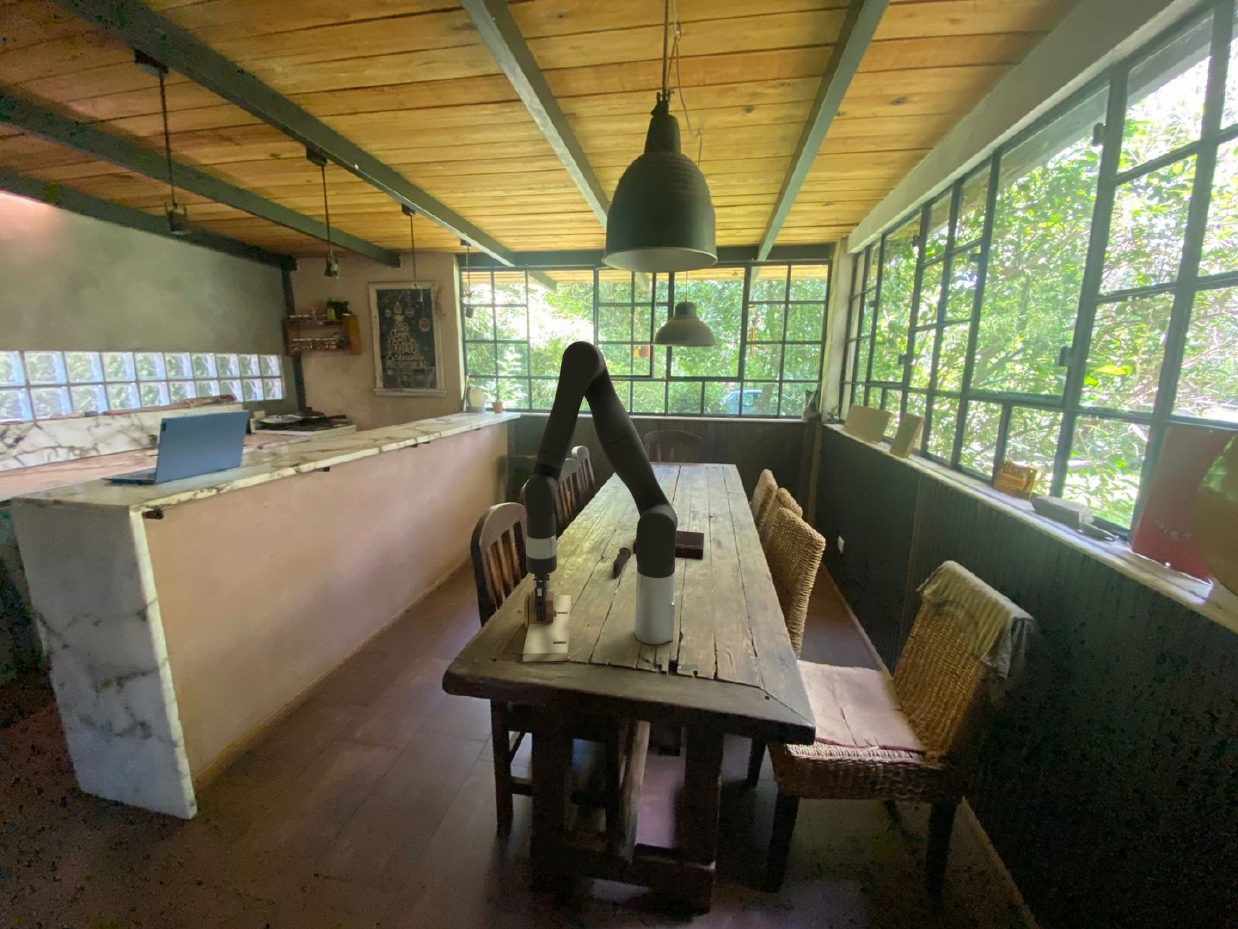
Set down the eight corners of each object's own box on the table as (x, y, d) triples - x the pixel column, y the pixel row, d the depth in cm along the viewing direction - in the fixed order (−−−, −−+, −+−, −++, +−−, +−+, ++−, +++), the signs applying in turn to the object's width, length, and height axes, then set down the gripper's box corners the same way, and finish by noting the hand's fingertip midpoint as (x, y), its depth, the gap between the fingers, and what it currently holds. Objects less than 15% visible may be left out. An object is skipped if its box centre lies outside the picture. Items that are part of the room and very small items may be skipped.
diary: (702, 562, 169) (703, 548, 168) (632, 555, 173) (633, 542, 172) (703, 543, 187) (704, 530, 185) (640, 537, 191) (640, 525, 190)
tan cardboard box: (557, 617, 125) (557, 591, 124) (556, 627, 120) (556, 600, 119) (526, 617, 124) (526, 591, 123) (524, 627, 120) (524, 600, 118)
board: (570, 601, 136) (570, 594, 135) (567, 660, 108) (567, 651, 108) (535, 602, 135) (535, 595, 134) (522, 661, 107) (522, 652, 107)
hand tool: (619, 556, 170) (619, 544, 169) (630, 558, 169) (630, 545, 168) (606, 579, 152) (606, 565, 151) (618, 580, 151) (618, 566, 150)
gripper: (555, 563, 112) (555, 629, 115) (557, 541, 126) (558, 601, 129) (522, 563, 111) (524, 630, 115) (529, 541, 125) (530, 601, 129)
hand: (542, 614), depth 122 cm, fingers closed on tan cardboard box, 5 cm apart
